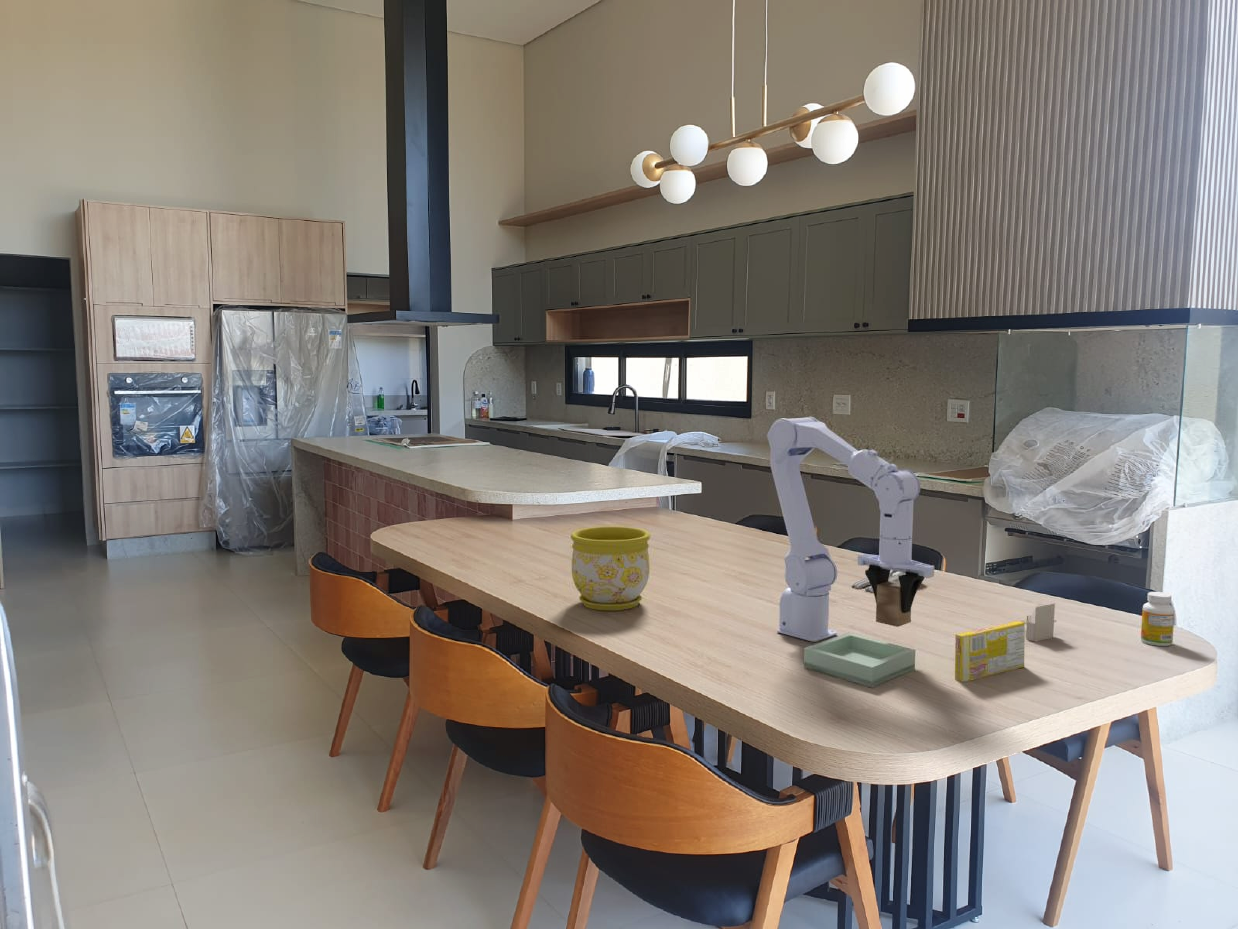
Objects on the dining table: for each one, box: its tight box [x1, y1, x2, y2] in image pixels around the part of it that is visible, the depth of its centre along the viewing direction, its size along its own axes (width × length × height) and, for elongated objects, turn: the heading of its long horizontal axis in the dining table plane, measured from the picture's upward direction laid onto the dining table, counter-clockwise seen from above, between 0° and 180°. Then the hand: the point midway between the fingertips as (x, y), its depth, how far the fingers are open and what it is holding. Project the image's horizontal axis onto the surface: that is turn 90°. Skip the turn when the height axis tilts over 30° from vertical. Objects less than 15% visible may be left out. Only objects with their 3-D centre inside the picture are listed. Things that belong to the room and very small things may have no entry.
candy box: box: [954, 620, 1026, 683], centre depth 159 cm, size 16×2×8 cm, turn 119°
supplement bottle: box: [1140, 591, 1176, 647], centre depth 176 cm, size 5×5×10 cm
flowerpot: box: [570, 525, 651, 611], centre depth 205 cm, size 18×18×16 cm
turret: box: [850, 570, 905, 593], centre depth 223 cm, size 10×20×5 cm, turn 124°
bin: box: [803, 632, 916, 688], centre depth 162 cm, size 14×14×4 cm
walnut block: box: [875, 581, 912, 628], centre depth 166 cm, size 4×4×7 cm
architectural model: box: [1020, 602, 1057, 642], centre depth 180 cm, size 3×7×7 cm, turn 118°
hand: (893, 609), depth 166 cm, fingers closed on walnut block, 4 cm apart
